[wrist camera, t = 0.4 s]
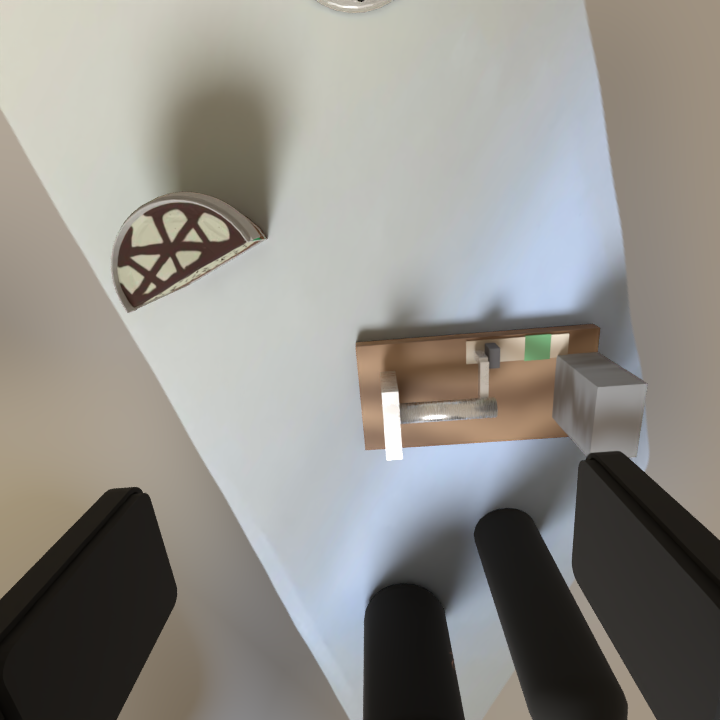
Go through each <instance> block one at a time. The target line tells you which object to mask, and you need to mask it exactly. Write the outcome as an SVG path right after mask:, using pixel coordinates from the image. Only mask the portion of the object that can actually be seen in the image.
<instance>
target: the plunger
mask: <svg viewBox="0 0 720 720" xmlns="http://www.w3.org/2000/svg"><path fill="white" fill-rule="evenodd" d="M474 359H475V361H476V362H477V364H478V398H468V399H454V400H439V401H425V402H411V403H399V393H398V386H397V380H396V374H395V371H386V372H380V379H381V393H382V406H383V419H384V432H385V445H386V458H387V460H399V459H403V457H402V441H401V425H400V424H410V423H424V422H439V421H453V420H468V419H482V418H496V417H497V414H498V407H497V402H496V399H495V397H488V396H489V361H488V357H487V356H486V354H485V353H484V352H483V351H482V350H475V351H474Z"/></svg>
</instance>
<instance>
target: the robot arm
mask: <svg viewBox="0 0 720 720" xmlns="http://www.w3.org/2000/svg"><path fill="white" fill-rule="evenodd" d="M316 1H317V2H319V3H320V4H322V5H324V6H326V7H329V8H331V9H334V10H336V11H342V12H347V13H360V12H368V11H371V10H375V9H378V8H381V7H382V6H384V5H386V4H388V3H390V2H392V1H393V0H364V1H363V2H358V0H316ZM572 568H573V573H574V576H575V579H576V581H577V583H578V584H579V586H580V588H581V590H582V591H583V593H584V595H585V596H586V598H587V600H588V602H589V603H590V605H591V607H592V609H593V610H594V612H595V614H596V616H597V617H598V619H599V621H600V622H601V624H602V626H603V628H604V629H605V631H606V633H607V634H608V636H609V638H610V639H611V641H612V643H613V645H614V647H615V648H616V650H617V652H618V653H619V655H620V657H621V659H622V660H623V662H624V664H625V665H626V667H627V669H628V671H629V672H630V674H631V676H632V678H633V679H634V681H635V683H636V685H637V686H638V688H639V690H640V691H641V693H642V695H643V697H644V698H645V700H646V702H647V703H648V705H649V707H650V709H651V710H652V712H653V714H654V716H655V717H656V719H657V720H720V540H719V539H717V537H716V536H714V535H713V534H712V533H711V532H710V531H709V530H708V529H707V528H705V527H704V526H703V525H702V524H701V523H700V522H699V521H698V520H697V519H696V518H694V517H693V516H692V515H691V514H690V513H689V512H688V511H687V510H686V509H684V508H683V507H682V506H681V505H680V504H679V503H678V502H677V501H676V500H675V499H673V498H672V497H671V496H670V495H669V494H668V493H667V492H665V490H663V489H662V488H661V487H660V486H659V485H658V484H657V483H656V482H655V481H654V480H652V479H651V478H650V477H649V476H648V475H647V474H646V473H645V472H644V471H643V470H641V469H640V468H639V467H638V466H637V465H636V464H635V463H634V462H633V461H631V460H630V459H629V458H628V457H627V456H626V455H625V454H624V453H622V452H621V451H608V452H594V453H590V454H588V456H587V458H586V460H582V461H580V463H579V467H578V480H577V495H576V509H575V523H574V538H573V552H572ZM176 598H177V587H176V583H175V580H174V576H173V573H172V569H171V566H170V563H169V559H168V557H167V553H166V550H165V546H164V543H163V539H162V536H161V532H160V529H159V526H158V522H157V519H156V516H155V512H154V509H153V506H152V502H151V499H150V497H149V495H148V494H146V493H143V492H142V490H141V489H140V488H138V487H131V488H130V487H129V488H116V489H110V490H108V491H107V492H105V493H104V494H103V495H102V496H101V497H100V498H99V499H98V501H97V502H96V503H95V504H94V505H93V506H92V507H91V508H90V509H89V510H88V511H87V512H86V513H85V514H84V515H83V516H82V517H81V518H80V519H79V520H78V521H77V522H76V523H75V524H74V525H73V526H72V527H71V528H70V529H69V530H68V531H67V532H66V533H65V534H64V535H63V536H62V537H61V538H60V539H59V540H58V541H57V542H56V543H55V544H54V545H53V546H52V547H51V548H50V549H49V550H48V552H46V554H45V555H44V556H43V557H42V558H41V559H40V560H39V561H38V562H37V563H36V564H35V565H34V566H33V567H32V568H31V569H30V570H29V571H28V572H27V573H26V574H25V575H24V576H23V577H22V578H21V579H20V580H19V581H18V582H17V583H16V584H15V585H14V586H13V587H12V588H11V589H10V590H9V591H8V593H6V594H5V595H4V596H3V597H2V598H1V600H0V720H117V718H118V716H119V714H120V712H121V710H122V707H123V706H124V704H125V702H126V700H127V698H128V696H129V694H130V692H131V690H132V688H133V686H134V684H135V682H136V680H137V678H138V676H139V674H140V672H141V670H142V668H143V667H144V665H145V663H146V661H147V659H148V657H149V654H150V653H151V651H152V649H153V647H154V645H155V643H156V641H157V639H158V637H159V635H160V633H161V631H162V629H163V627H164V625H165V623H166V621H167V619H168V617H169V615H170V613H171V611H172V609H173V607H174V605H175V602H176Z"/></svg>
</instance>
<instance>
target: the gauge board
mask: <svg viewBox="0 0 720 720" xmlns="http://www.w3.org/2000/svg"><path fill="white" fill-rule="evenodd" d="M599 335H600V327H598V326H596V325H594V324H584V325H571V326H558V327H546V328H533V329H520V330H507V331H495V332H482V333H469V334H456V335H444V336H431V337H418V338H405V339H393V340H380V341H367V342H356V356H357V367H358V377H359V387H360V398H361V408H362V418H363V429H364V439H365V450H375V449H386V445H385V432H384V419H383V406H382V393H381V379H380V372H386V371H395V374H396V380H397V386H398V393H399V403H411V402H425V401H439V400H454V399H468V398H478V364H477V362H476V361H475V359H474V351H475V350H482V351H483V352H484V353H485V343H496V344H497V345H498V346H499V347H500V368H494V369H489V396H488V397H495V399H496V402H497V407H498V414H497V417H496V418H482V419H468V420H453V421H439V422H424V423H410V424H400V425H401V441H402V448H406V447H421V446H436V445H451V444H466V443H481V442H497V441H512V440H527V439H542V438H557V437H570V438H571V440H572V441H573V442H574V443H575V444H576V445H577V446H578V448H579V449H580V450H581V451H582V452H583V453H584V454H585V456H586V457H587V456H588V454H590V453H594V452H608V451H621V452H622V453H624V454H625V455H626V456H627V457H628V458H631V457H636V455H637V449H638V443H639V436H640V430H641V424H642V417H643V411H644V405H645V398H646V392H647V386H648V384H647V383H646V382H644V381H643V380H641V379H640V378H638V377H636V376H635V375H633V374H632V373H630V372H629V371H627V370H625V369H624V368H622V367H621V366H619V365H617V364H616V363H614V362H613V361H611V360H610V359H608V358H606V357H605V356H603V355H602V354H600V353H598V344H599Z"/></svg>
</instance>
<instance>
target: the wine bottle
mask: <svg viewBox="0 0 720 720" xmlns="http://www.w3.org/2000/svg"><path fill="white" fill-rule="evenodd" d="M474 539H475V543H476V547H477V550H478V553H479V556H480V559H481V562H482V565H483V569H484V572H485V575H486V578H487V581H488V584H489V587H490V591H491V594H492V597H493V600H494V603H495V606H496V609H497V613H498V616H499V619H500V622H501V625H502V628H503V631H504V635H505V638H506V641H507V644H508V647H509V650H510V653H511V656H512V660H513V663H514V666H515V669H516V672H517V675H518V678H519V682H520V685H521V688H522V691H523V694H524V697H525V700H526V703H527V707H528V710H529V713H530V715H531V717H532V719H533V720H627V714H628V704H627V701H626V698H625V695H624V693H623V691H622V689H621V687H620V685H619V683H618V681H617V679H616V677H615V675H614V673H613V672H612V670H611V668H610V666H609V664H608V662H607V660H606V658H605V656H604V654H603V653H602V651H601V649H600V647H599V645H598V643H597V641H596V639H595V638H594V635H593V634H592V632H591V630H590V628H589V626H588V624H587V622H586V620H585V618H584V616H583V615H582V613H581V611H580V609H579V607H578V605H577V603H576V601H575V599H574V597H573V596H572V594H571V592H570V590H569V588H568V586H567V584H566V582H565V580H564V578H563V576H562V575H561V573H560V571H559V569H558V567H557V565H556V563H555V561H554V559H553V557H552V556H551V554H550V552H549V550H548V548H547V546H546V544H545V542H544V540H543V538H542V537H541V535H540V533H539V531H538V529H537V527H536V525H535V523H534V521H533V520H532V518H531V517H530V516H529V515H528V514H526V513H525V512H523V511H520V510H518V509H510V508H505V509H498V510H495V511H493V512H490V513H488V514H487V515H485V516H484V517H483V518H482V519H480V521H479V522H478V524H477V525H476V527H475V531H474Z"/></svg>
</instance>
